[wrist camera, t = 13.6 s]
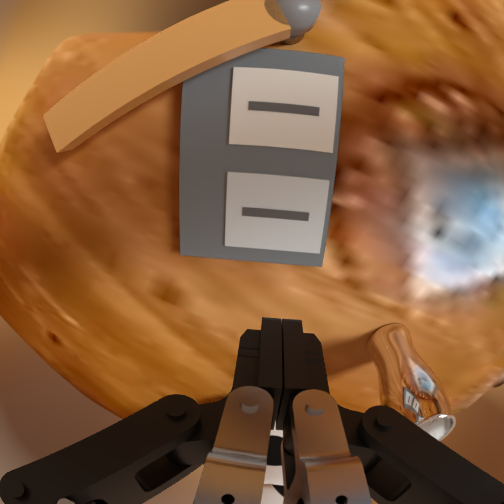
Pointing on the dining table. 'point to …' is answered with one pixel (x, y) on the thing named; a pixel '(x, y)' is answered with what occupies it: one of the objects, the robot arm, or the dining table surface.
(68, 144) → the swing bar
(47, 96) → the dining table surface
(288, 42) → the post
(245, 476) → the robot arm
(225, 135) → the label board
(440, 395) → the beer glass
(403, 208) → the dining table surface
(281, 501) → the milk container
